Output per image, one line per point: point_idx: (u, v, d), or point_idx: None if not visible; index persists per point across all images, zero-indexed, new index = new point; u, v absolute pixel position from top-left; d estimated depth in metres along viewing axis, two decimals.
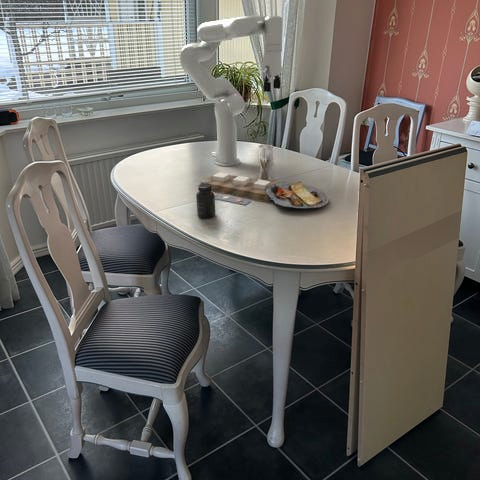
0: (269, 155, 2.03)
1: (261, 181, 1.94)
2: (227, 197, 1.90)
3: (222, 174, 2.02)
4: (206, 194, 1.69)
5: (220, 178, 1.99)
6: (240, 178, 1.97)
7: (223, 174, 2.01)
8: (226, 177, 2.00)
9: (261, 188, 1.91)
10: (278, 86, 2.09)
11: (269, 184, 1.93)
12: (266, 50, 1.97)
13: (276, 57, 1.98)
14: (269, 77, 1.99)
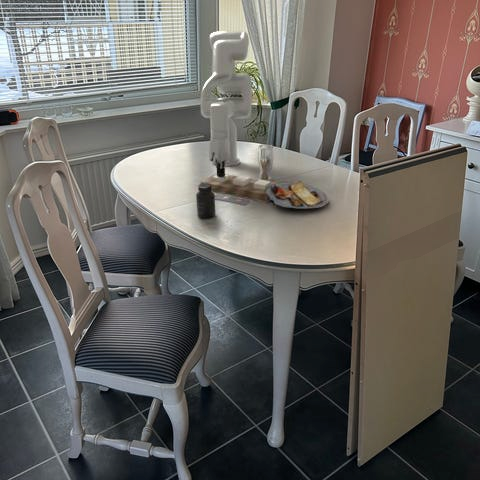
0: (269, 155, 2.03)
1: (261, 181, 1.94)
2: (227, 197, 1.90)
3: None
4: (206, 194, 1.69)
5: (220, 179, 1.99)
6: (240, 178, 1.97)
7: None
8: (226, 178, 2.01)
9: (261, 188, 1.91)
10: None
11: (269, 184, 1.93)
12: (212, 136, 1.91)
13: (223, 143, 1.92)
14: (220, 165, 1.97)
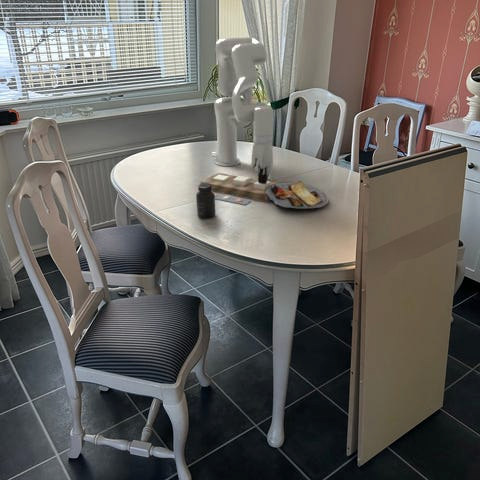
0: None
1: None
2: (227, 197, 1.90)
3: (222, 176, 2.03)
4: (206, 194, 1.69)
5: (220, 180, 1.99)
6: (240, 178, 1.97)
7: (224, 177, 2.02)
8: (226, 179, 2.01)
9: (261, 188, 1.91)
10: None
11: (269, 184, 1.93)
12: (255, 141, 1.82)
13: (266, 148, 1.83)
14: (263, 171, 1.88)
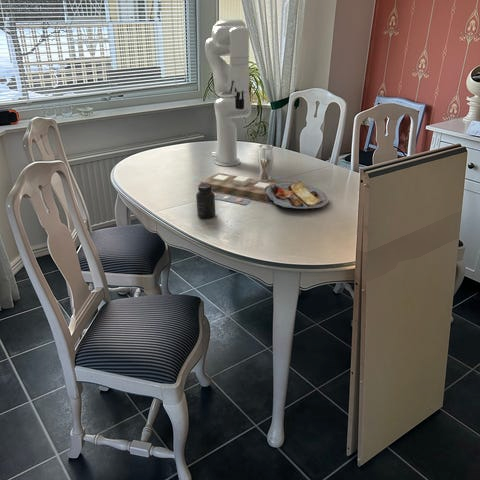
0: (269, 155, 2.03)
1: (261, 183, 1.94)
2: (227, 197, 1.90)
3: (222, 176, 2.03)
4: (206, 194, 1.69)
5: (220, 180, 1.99)
6: (240, 178, 1.97)
7: (224, 177, 2.02)
8: (226, 179, 2.01)
9: None
10: None
11: None
12: (232, 64, 1.83)
13: (243, 71, 1.84)
14: (239, 95, 1.88)
